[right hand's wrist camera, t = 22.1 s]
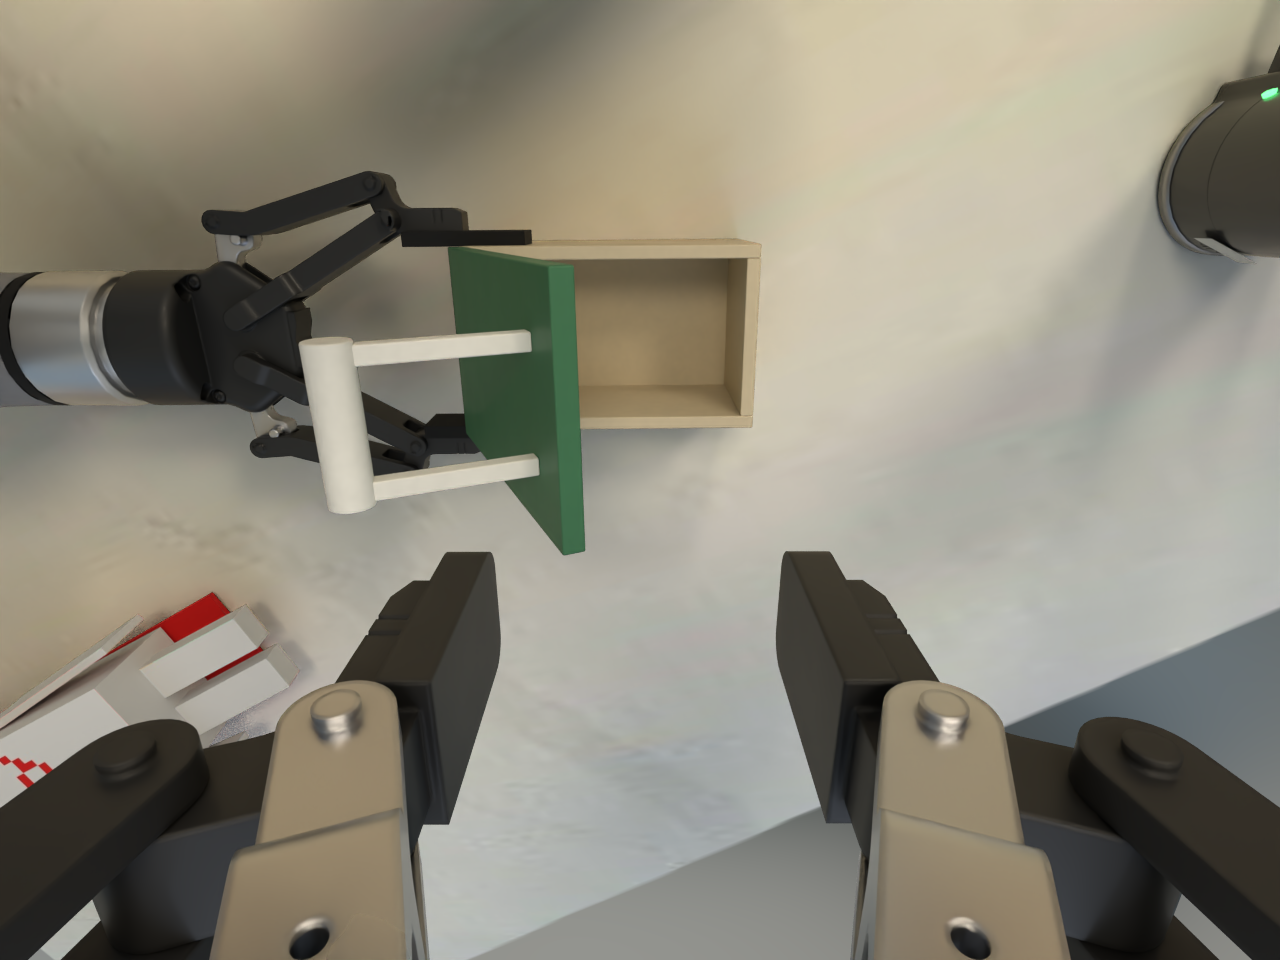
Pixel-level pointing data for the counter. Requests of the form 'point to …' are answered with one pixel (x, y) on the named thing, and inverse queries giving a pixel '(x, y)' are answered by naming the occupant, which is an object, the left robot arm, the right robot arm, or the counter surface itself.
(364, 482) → the lid
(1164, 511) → the counter surface
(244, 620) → the toy
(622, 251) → the chest
